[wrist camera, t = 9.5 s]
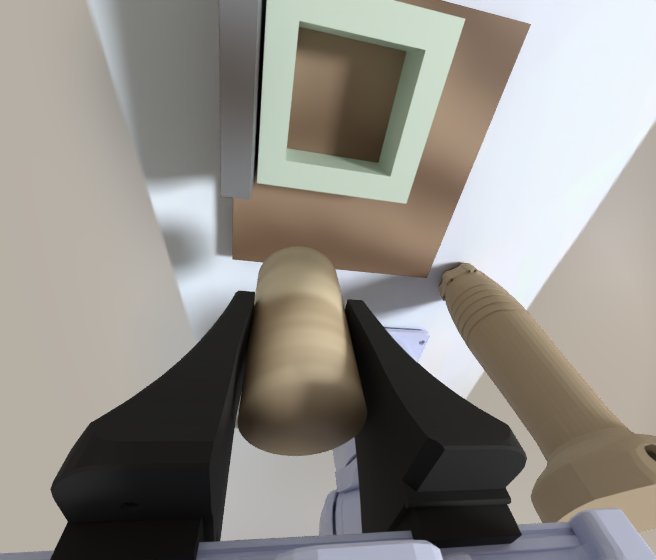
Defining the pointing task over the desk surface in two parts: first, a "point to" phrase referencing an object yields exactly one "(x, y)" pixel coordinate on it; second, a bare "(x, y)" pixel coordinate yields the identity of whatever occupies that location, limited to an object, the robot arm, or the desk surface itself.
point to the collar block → (408, 108)
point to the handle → (554, 407)
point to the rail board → (355, 138)
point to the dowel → (300, 360)
